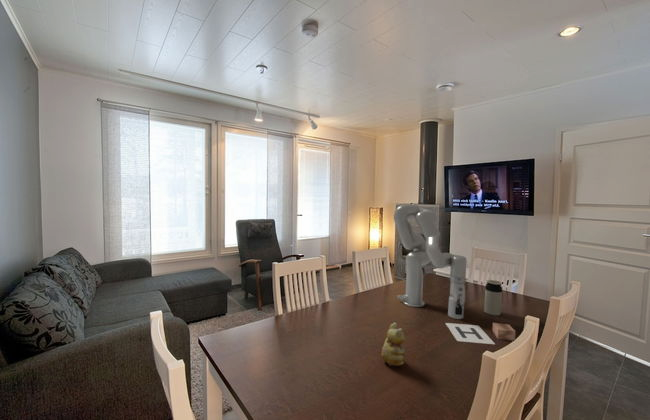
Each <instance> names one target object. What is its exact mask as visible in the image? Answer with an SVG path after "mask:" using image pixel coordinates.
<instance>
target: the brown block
mask: <svg viewBox="0 0 650 420" xmlns="http://www.w3.org/2000/svg"><path fill="white" fill-rule="evenodd" d="M492 333H493V334H494V336H495V337H496V338H497V340H505V341H510V342H511V341H513V340H515V341H516V330H515V329H514V328H513V327H512V326H511V325H510V324H507V323H506V324H505V323H499V322H492ZM513 342H514V341H513Z"/></svg>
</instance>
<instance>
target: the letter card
mask: <svg viewBox="0 0 650 420" xmlns="http://www.w3.org/2000/svg"><path fill="white" fill-rule="evenodd" d="M445 325H446V327H447V328H448V329H449V331H450V332H451V334H452V335H453V337H454V339H455V340H456V341H457V342H464V343H474V344H475V343H476V344H486V345H496V343H495V342H494V341H493V340H492V339H491V337H489V335H488V334H487V333H486V332H485V331H484V330H483V329H482V328H481V327H480V325H476V324H475V325H474V324H466V323H464V324H463V323H452V322H451V323H450V322H445Z"/></svg>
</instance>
